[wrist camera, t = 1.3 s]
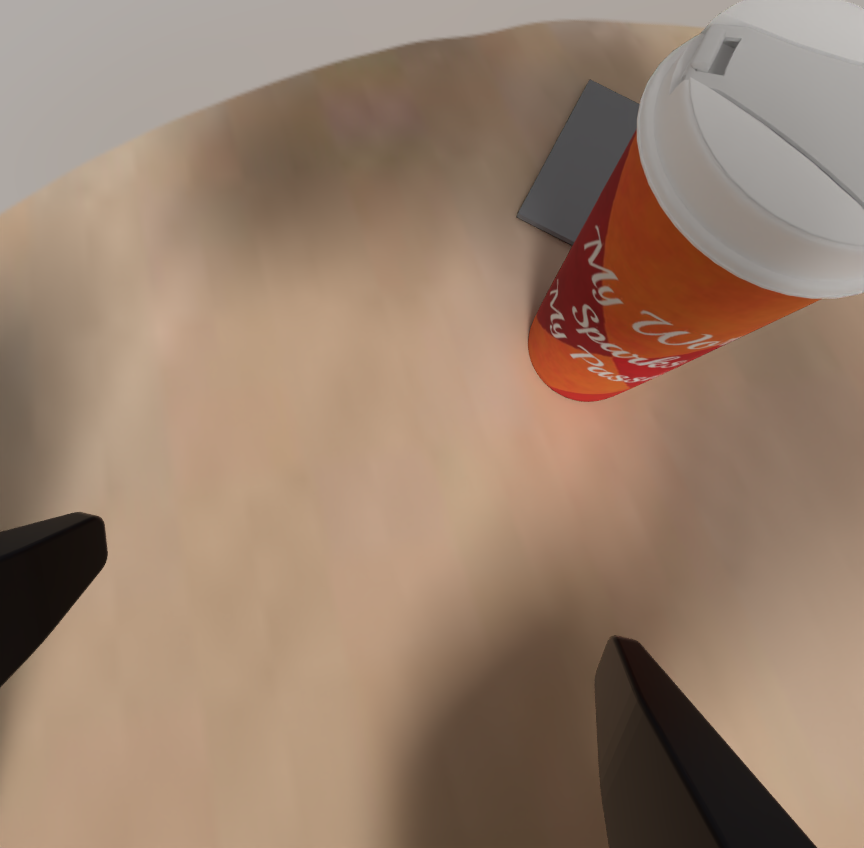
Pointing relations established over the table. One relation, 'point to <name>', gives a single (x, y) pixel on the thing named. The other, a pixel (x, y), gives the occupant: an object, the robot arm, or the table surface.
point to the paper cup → (718, 201)
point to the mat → (580, 162)
